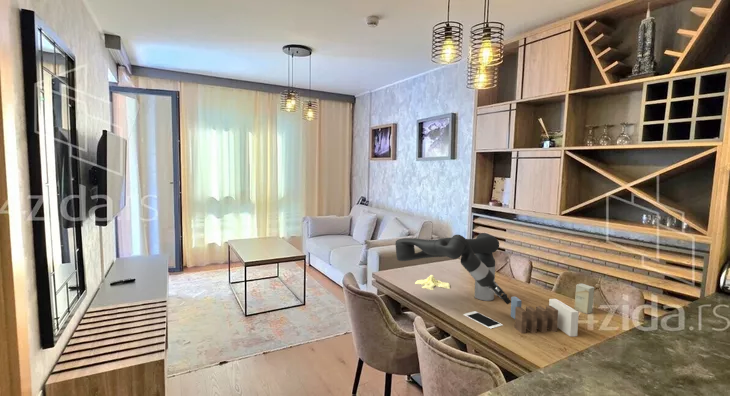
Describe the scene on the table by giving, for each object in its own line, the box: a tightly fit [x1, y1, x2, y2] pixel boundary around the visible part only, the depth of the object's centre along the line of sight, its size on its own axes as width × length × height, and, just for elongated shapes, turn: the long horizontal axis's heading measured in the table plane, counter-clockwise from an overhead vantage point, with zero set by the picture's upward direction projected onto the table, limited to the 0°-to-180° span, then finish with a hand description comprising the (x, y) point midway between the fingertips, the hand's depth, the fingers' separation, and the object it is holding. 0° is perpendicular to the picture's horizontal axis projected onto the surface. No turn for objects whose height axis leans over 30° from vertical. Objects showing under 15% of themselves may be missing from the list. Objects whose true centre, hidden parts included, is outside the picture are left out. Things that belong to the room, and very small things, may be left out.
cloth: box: [414, 274, 451, 291], centre depth 201 cm, size 22×19×6 cm
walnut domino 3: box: [535, 305, 548, 333], centre depth 144 cm, size 2×5×9 cm, turn 6°
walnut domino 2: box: [525, 305, 538, 334], centre depth 144 cm, size 2×5×9 cm, turn 6°
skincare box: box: [573, 283, 595, 315], centre depth 163 cm, size 6×4×12 cm
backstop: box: [548, 298, 580, 337], centre depth 145 cm, size 3×14×10 cm, turn 6°
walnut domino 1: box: [514, 306, 527, 334], centre depth 143 cm, size 2×5×9 cm, turn 6°
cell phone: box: [462, 310, 504, 330], centre depth 154 cm, size 8×16×1 cm, turn 28°
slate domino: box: [510, 296, 522, 320], centre depth 155 cm, size 2×5×9 cm, turn 6°
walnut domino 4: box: [545, 305, 558, 333], centre depth 145 cm, size 2×5×9 cm, turn 6°
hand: (504, 298), depth 153 cm, fingers open, 8 cm apart
